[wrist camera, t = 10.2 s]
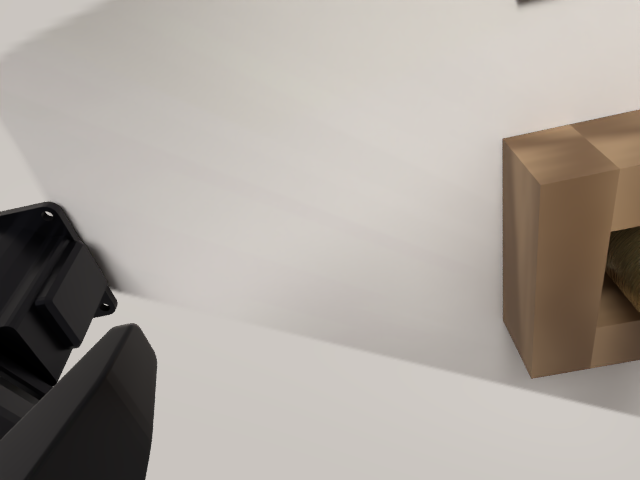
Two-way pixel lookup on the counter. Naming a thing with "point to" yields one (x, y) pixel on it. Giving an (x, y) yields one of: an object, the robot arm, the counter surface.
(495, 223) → the counter surface
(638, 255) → the brass pin
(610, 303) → the wooden socket block
